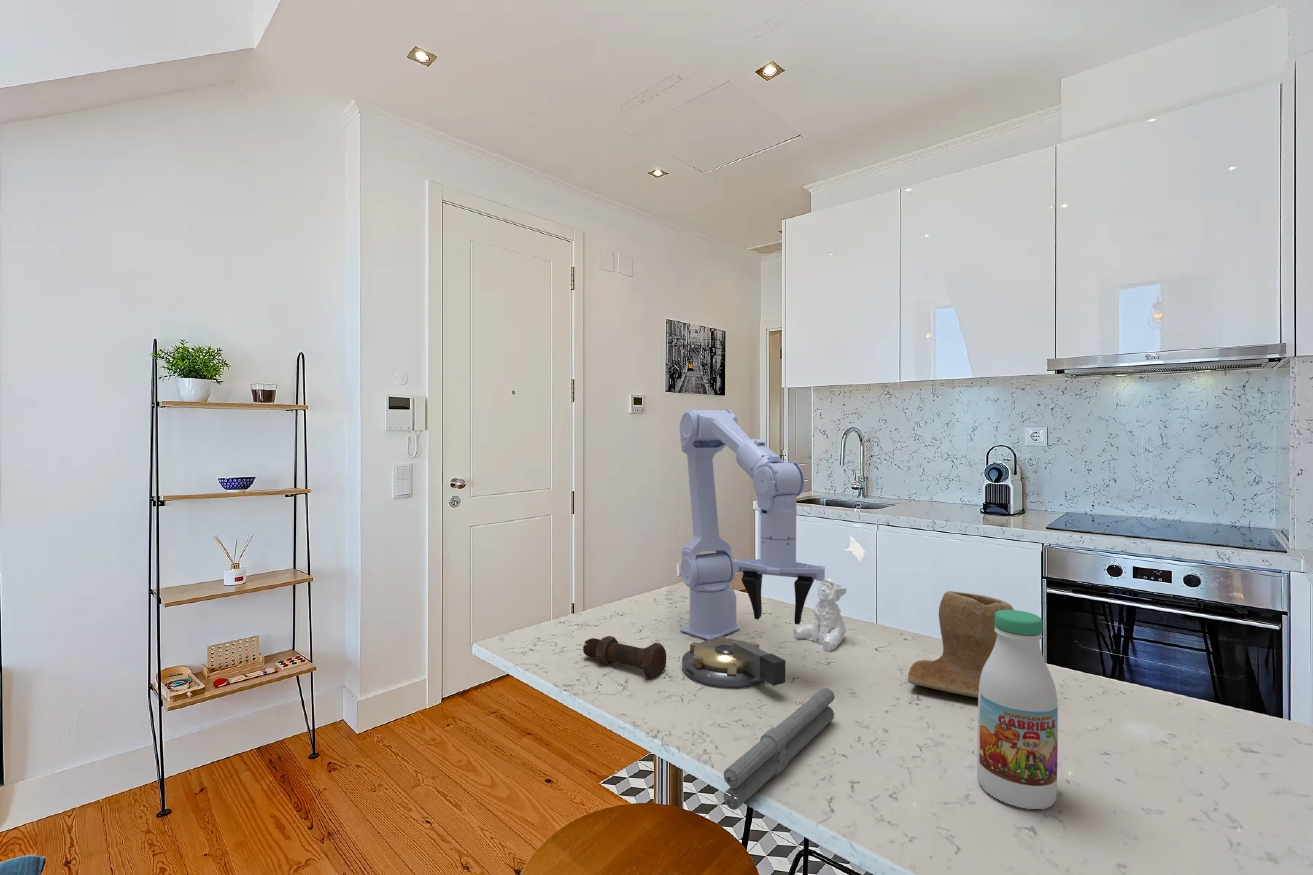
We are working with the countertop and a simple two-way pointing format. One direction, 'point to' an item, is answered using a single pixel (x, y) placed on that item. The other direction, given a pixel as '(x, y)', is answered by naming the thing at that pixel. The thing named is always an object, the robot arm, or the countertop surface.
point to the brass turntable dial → (738, 659)
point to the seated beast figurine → (825, 618)
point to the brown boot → (961, 644)
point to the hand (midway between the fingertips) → (777, 619)
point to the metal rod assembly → (777, 748)
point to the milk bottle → (1018, 716)
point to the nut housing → (718, 676)
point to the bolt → (627, 655)
